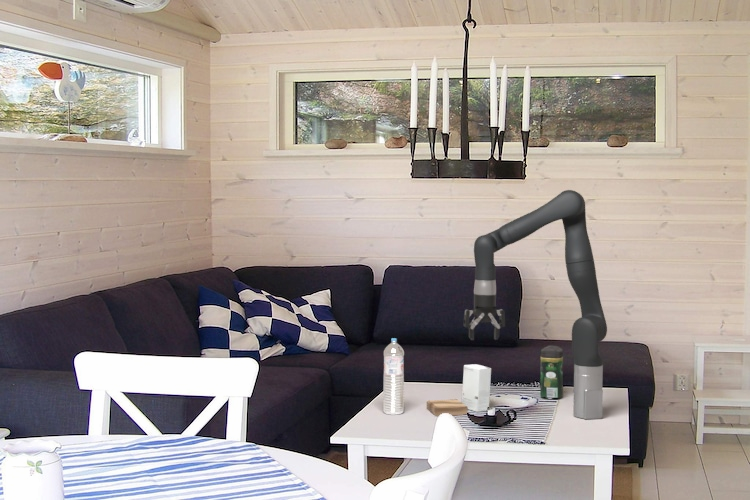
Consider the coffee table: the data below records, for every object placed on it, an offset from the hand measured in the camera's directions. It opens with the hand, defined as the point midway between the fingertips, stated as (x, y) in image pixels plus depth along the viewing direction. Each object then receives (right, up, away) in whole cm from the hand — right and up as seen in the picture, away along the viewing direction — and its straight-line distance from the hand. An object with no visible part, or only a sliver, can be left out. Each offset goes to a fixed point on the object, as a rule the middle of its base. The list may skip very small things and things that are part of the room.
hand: (484, 339), depth 323 cm
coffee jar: (+26, -23, +17) cm, 39 cm away
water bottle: (-31, -24, -9) cm, 41 cm away
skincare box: (-3, -24, -3) cm, 24 cm away
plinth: (-13, -24, -7) cm, 28 cm away
